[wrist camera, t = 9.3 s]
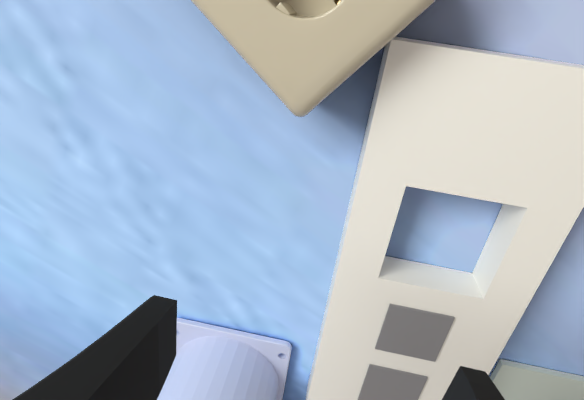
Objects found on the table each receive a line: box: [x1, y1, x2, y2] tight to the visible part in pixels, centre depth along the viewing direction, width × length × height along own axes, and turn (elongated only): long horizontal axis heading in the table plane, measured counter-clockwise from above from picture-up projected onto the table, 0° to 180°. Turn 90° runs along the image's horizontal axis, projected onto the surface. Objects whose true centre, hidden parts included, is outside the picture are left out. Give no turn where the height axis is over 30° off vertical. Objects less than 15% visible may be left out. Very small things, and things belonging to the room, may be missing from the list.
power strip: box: [306, 37, 584, 400], centre depth 19 cm, size 22×9×3 cm, turn 172°
